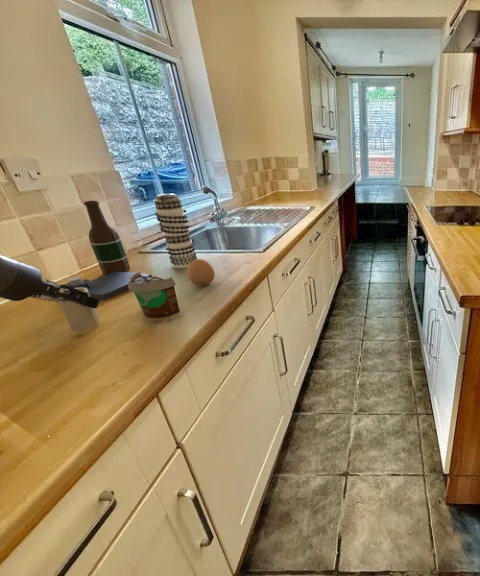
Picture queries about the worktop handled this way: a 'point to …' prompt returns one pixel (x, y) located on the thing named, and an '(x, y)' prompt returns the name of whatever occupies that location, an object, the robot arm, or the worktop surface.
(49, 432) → the worktop surface
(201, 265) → the egg
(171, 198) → the white patterned cylinder
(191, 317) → the worktop surface
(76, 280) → the tare button
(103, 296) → the scale
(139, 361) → the worktop surface
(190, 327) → the worktop surface
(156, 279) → the food container
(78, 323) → the cup
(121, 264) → the beer bottle
